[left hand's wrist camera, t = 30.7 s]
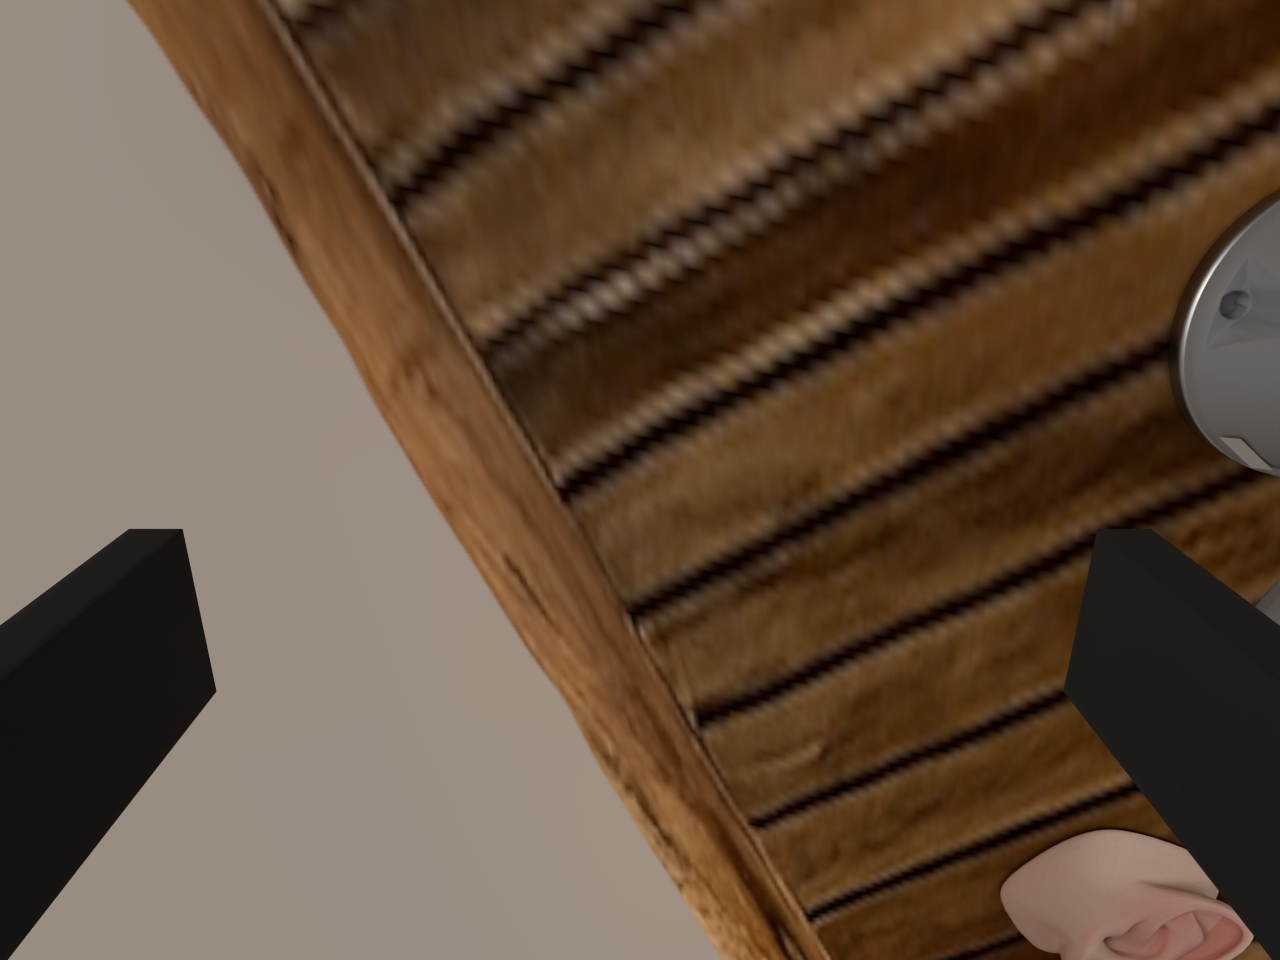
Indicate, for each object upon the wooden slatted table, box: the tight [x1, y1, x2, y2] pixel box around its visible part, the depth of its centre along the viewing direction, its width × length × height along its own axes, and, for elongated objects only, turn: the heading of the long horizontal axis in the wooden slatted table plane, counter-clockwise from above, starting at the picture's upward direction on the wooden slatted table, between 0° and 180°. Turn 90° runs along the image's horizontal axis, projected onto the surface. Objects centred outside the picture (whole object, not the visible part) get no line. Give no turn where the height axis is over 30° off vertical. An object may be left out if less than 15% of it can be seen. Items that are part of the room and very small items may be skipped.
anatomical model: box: [1000, 830, 1253, 960], centre depth 55 cm, size 13×4×12 cm
